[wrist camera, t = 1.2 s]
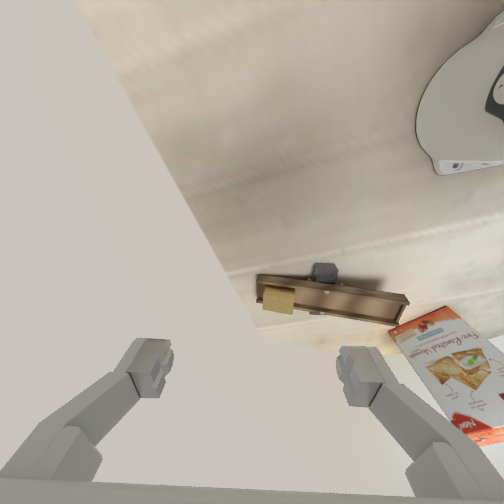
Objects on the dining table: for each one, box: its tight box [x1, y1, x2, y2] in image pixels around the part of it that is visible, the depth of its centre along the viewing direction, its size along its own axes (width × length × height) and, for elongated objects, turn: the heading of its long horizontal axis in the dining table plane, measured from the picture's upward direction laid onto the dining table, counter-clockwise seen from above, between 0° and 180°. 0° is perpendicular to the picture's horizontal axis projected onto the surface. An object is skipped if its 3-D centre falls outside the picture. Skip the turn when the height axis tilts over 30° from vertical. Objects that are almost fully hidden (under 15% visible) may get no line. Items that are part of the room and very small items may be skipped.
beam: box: [256, 274, 410, 327], centre depth 41 cm, size 28×6×4 cm, turn 88°
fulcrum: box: [309, 263, 338, 315], centre depth 43 cm, size 4×12×2 cm, turn 0°
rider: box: [263, 284, 295, 315], centre depth 40 cm, size 6×4×4 cm, turn 88°
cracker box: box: [388, 306, 504, 447], centre depth 39 cm, size 14×6×21 cm, turn 130°
